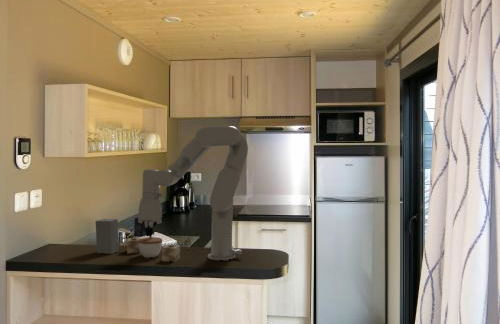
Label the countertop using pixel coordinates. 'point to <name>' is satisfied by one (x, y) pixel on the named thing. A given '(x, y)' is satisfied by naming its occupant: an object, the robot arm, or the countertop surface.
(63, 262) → the countertop surface
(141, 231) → the box
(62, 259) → the countertop surface
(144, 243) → the lidded jar
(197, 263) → the countertop surface
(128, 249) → the marked block far
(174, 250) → the marked block near
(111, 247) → the skincare box
